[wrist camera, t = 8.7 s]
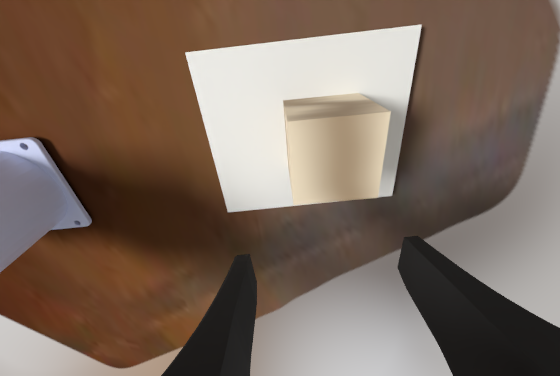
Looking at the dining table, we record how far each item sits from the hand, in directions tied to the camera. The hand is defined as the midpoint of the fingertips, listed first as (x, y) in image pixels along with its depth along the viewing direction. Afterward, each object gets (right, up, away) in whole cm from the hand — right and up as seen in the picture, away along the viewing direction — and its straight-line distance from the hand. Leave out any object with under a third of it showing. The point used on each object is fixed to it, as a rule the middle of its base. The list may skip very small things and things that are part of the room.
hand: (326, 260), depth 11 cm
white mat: (0, +7, +6) cm, 10 cm away
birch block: (+1, +7, +6) cm, 9 cm away
